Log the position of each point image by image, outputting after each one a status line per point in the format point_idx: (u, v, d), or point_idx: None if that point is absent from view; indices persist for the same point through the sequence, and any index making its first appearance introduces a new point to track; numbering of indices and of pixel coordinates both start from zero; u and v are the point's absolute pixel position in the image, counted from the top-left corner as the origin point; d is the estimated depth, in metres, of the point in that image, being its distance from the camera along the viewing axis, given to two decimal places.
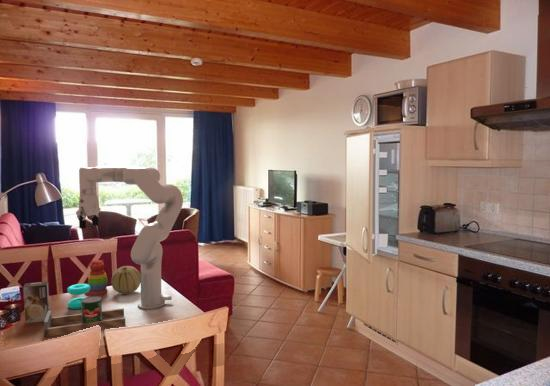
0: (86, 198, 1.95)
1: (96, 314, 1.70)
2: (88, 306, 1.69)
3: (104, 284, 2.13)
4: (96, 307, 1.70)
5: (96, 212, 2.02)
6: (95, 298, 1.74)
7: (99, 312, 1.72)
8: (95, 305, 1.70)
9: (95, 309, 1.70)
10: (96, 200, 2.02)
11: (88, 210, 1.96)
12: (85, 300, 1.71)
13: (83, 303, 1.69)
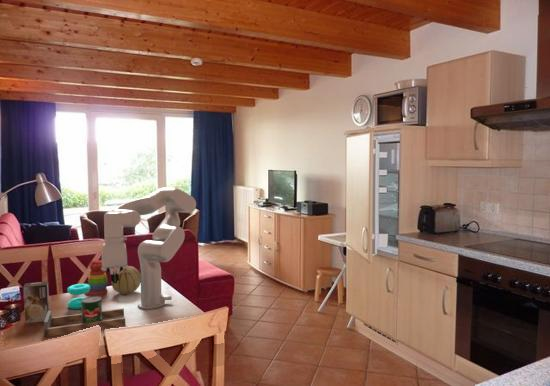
0: None
1: (96, 314, 1.70)
2: (88, 306, 1.69)
3: (104, 284, 2.13)
4: (96, 307, 1.70)
5: None
6: (95, 298, 1.74)
7: (99, 312, 1.72)
8: (95, 305, 1.70)
9: (95, 309, 1.70)
10: None
11: None
12: (85, 300, 1.71)
13: (83, 303, 1.69)
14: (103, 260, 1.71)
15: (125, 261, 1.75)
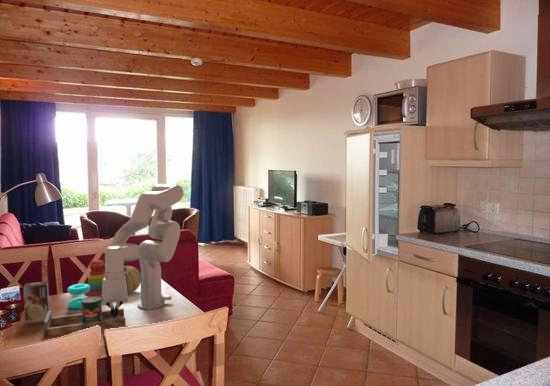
0: None
1: (96, 314, 1.70)
2: (88, 306, 1.69)
3: None
4: (96, 307, 1.70)
5: None
6: (95, 298, 1.74)
7: (99, 312, 1.72)
8: (95, 305, 1.70)
9: (95, 309, 1.70)
10: None
11: None
12: (85, 300, 1.71)
13: (83, 303, 1.69)
14: (103, 295, 1.72)
15: (125, 296, 1.75)
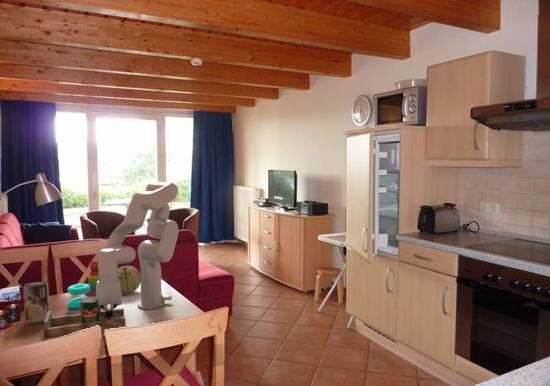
0: None
1: (95, 314, 1.70)
2: (87, 306, 1.69)
3: None
4: (95, 308, 1.70)
5: None
6: (94, 298, 1.74)
7: (98, 312, 1.72)
8: (94, 305, 1.70)
9: (94, 309, 1.70)
10: None
11: None
12: (84, 300, 1.71)
13: (82, 303, 1.69)
14: (97, 298, 1.71)
15: (119, 298, 1.75)
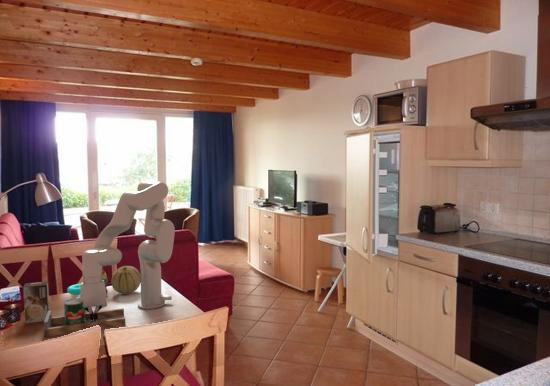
0: None
1: (80, 316, 1.68)
2: (71, 308, 1.66)
3: None
4: (79, 309, 1.68)
5: None
6: (78, 300, 1.71)
7: (83, 314, 1.69)
8: (79, 307, 1.67)
9: (79, 311, 1.68)
10: None
11: None
12: (68, 302, 1.69)
13: (66, 305, 1.66)
14: (81, 300, 1.69)
15: (104, 300, 1.73)
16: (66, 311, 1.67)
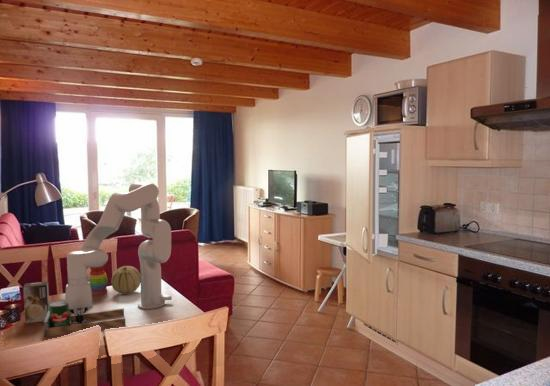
0: None
1: (65, 318, 1.66)
2: (56, 310, 1.64)
3: (104, 284, 2.13)
4: (64, 311, 1.66)
5: None
6: (64, 302, 1.69)
7: (68, 316, 1.67)
8: (64, 309, 1.65)
9: (64, 313, 1.65)
10: None
11: None
12: (53, 304, 1.67)
13: (51, 307, 1.64)
14: (66, 302, 1.67)
15: (90, 302, 1.70)
16: (51, 313, 1.64)
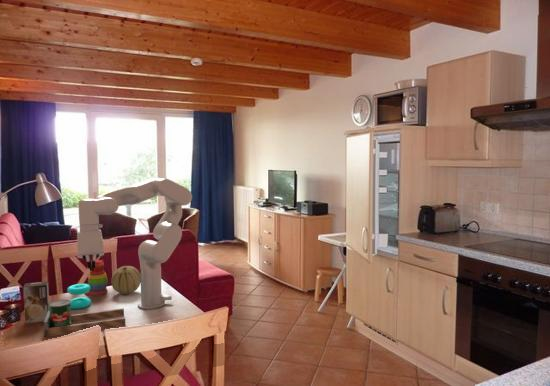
0: None
1: (65, 318, 1.66)
2: (56, 310, 1.64)
3: (104, 284, 2.13)
4: (64, 311, 1.66)
5: None
6: (64, 302, 1.69)
7: (68, 316, 1.67)
8: (64, 309, 1.65)
9: (64, 313, 1.66)
10: None
11: None
12: (53, 304, 1.67)
13: (51, 307, 1.64)
14: (79, 247, 1.71)
15: (101, 248, 1.74)
16: (51, 313, 1.64)
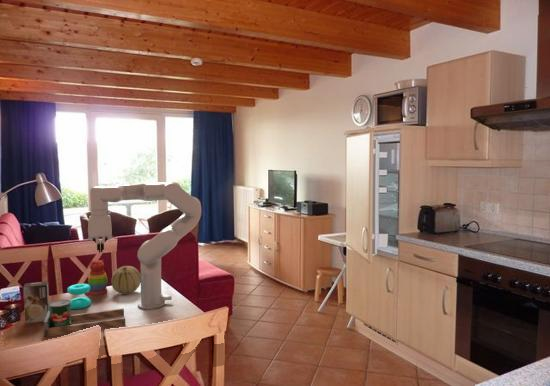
0: None
1: (65, 318, 1.66)
2: (56, 310, 1.64)
3: (104, 284, 2.13)
4: (64, 311, 1.66)
5: None
6: (64, 302, 1.69)
7: (68, 316, 1.67)
8: (64, 309, 1.65)
9: (64, 313, 1.66)
10: None
11: None
12: (53, 304, 1.67)
13: (51, 307, 1.64)
14: (89, 230, 1.87)
15: (110, 232, 1.90)
16: (51, 313, 1.64)
